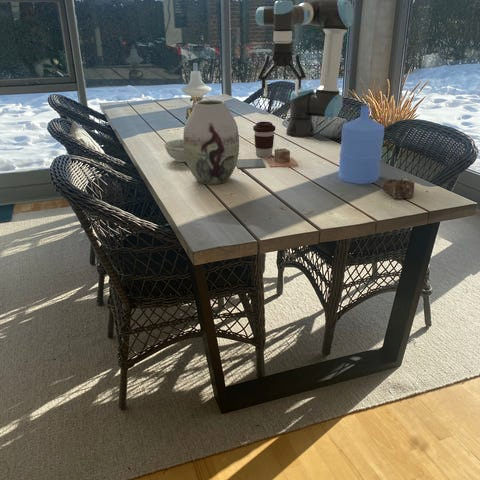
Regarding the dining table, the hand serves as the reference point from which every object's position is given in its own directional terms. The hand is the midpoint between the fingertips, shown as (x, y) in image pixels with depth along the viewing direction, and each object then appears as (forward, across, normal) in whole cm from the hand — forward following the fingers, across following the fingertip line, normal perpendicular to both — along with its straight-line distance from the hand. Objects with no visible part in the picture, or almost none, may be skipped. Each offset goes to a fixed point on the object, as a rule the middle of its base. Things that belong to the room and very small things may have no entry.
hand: (281, 96), depth 209 cm
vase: (+28, +32, +26) cm, 50 cm away
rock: (+29, -31, +59) cm, 72 cm away
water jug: (+27, -24, +35) cm, 50 cm away
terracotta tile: (+27, +1, +9) cm, 29 cm away
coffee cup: (+27, +6, -4) cm, 28 cm away
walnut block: (+26, +1, +9) cm, 28 cm away
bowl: (+28, +43, -4) cm, 51 cm away
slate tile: (+27, +15, +8) cm, 32 cm away
